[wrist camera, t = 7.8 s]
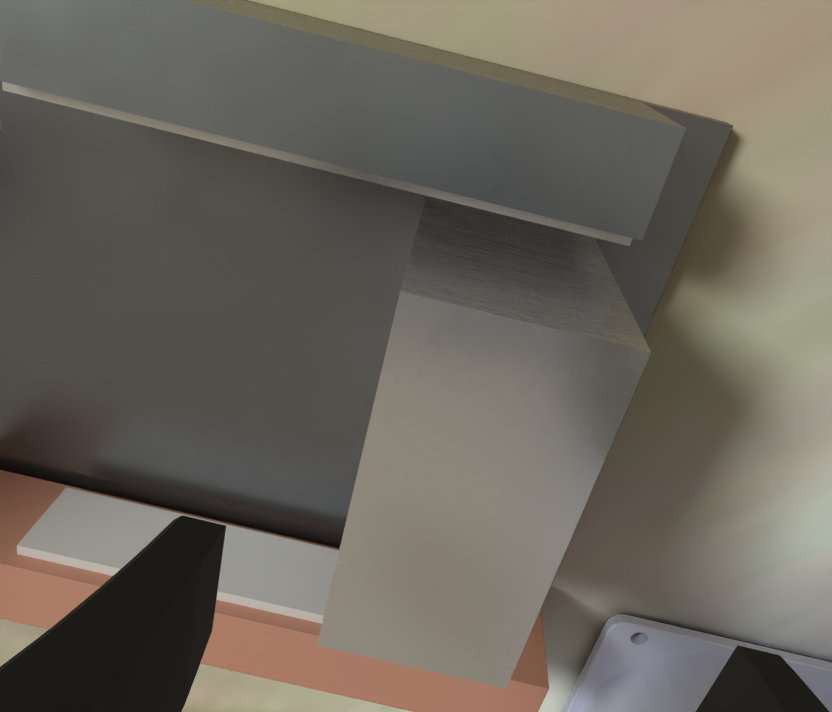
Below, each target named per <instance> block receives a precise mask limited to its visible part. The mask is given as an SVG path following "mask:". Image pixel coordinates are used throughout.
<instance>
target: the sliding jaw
mask: <svg viewBox="0 0 832 712" xmlns="http://www.w3.org/2000/svg"><path fill="white" fill-rule="evenodd" d="M182 515H183V516H187V517H192V518H196V519H200V520H204V521H209V522H213V523H217V524H222V525H226V531H225V539H224V546H223V554H222V561H221V569H220V576H219V583H218V591H217V598H216V606H215V613H214V621H213V628H212V633H211V635H210V638H209V641H208V643H207V646H206V649H205V651H204V654H203V657H202V660H201V662H200V664H205V665H209V666H214V667H218V668H223V669H227V670H231V671H236V672H240V673H245V674H249V675H254V676H258V677H262V678H267V679H271V680H276V681H280V682H285V683H289V684H293V685H298V686H302V687H307V688H311V689H316V690H320V691H324V692H329V693H333V694H338V695H342V696H347V697H351V698H355V699H360V700H364V701H369V702H373V703H378V704H382V705H386V706H391V707H395V708H400V709H404V710H409V711H413V712H538V711H539V708H540V706H541V704H542V702H543V700H544V698H545V696H546V694H547V692H548V689H549V684H548V675H547V665H546V655H545V646H544V636H543V626H542V616H541V609H540V612H539V614H538V616H537V619H536V621H535V623H534V625H533V628H532V630H531V632H530V635H529V637H528V639H527V642H526V644H525V646H524V649H523V651H522V653H521V656H520V658H519V660H518V663H517V665H516V667H515V669H514V672H513V674H512V676H511V679H510V681H509V683H508V686H507V688H506V689H505V688H501V687H496V686H492V685H487V684H483V683H479V682H474V681H470V680H465V679H461V678H457V677H452V676H448V675H444V674H439V673H435V672H430V671H426V670H422V669H417V668H413V667H408V666H404V665H400V664H395V663H391V662H386V661H382V660H378V659H373V658H369V657H365V656H360V655H356V654H351V653H347V652H343V651H338V650H334V649H329V648H325V647H321V646H317V643H318V638H319V634H320V630H321V626H322V621H323V617H324V613H325V609H326V604H327V600H328V596H329V592H330V587H331V583H332V579H333V575H334V570H335V566H336V562H337V558H338V553H339V548H335V547H331V546H326V545H322V544H318V543H313V542H309V541H305V540H300V539H296V538H292V537H288V536H283V535H279V534H275V533H270V532H266V531H262V530H257V529H253V528H249V527H244V526H240V525H236V524H232V523H227V522H223V521H219V520H214V519H210V518H206V517H201V516H197V515H193V514H188V513H184V512H180V511H176V510H171V509H167V508H163V507H158V506H154V505H150V504H145V503H141V502H137V501H132V500H128V499H124V498H120V497H115V496H111V495H107V494H102V493H98V492H94V491H89V490H85V489H81V488H76V487H72V486H68V485H64V484H59V483H55V482H51V481H46V480H42V479H38V478H33V477H29V476H25V475H20V474H16V473H12V472H8V471H3V470H0V618H1V619H5V620H10V621H14V622H19V623H23V624H28V625H32V626H36V627H41V628H45V629H50V628H52V627H53V626H54V625H55V624H57V623H58V622H59V621H60V620H61V619H63V618H64V617H65V616H66V615H67V614H69V613H70V612H71V611H72V610H73V609H75V608H76V607H77V606H78V605H79V604H81V603H82V602H83V601H84V600H85V599H87V598H88V597H89V596H90V595H91V594H93V593H94V592H95V591H96V590H97V589H99V588H100V587H101V586H102V585H103V584H104V583H106V582H107V581H108V580H109V579H110V578H111V577H112V576H113V575H115V574H116V573H117V572H118V571H119V570H120V569H121V568H123V567H124V566H125V565H126V564H127V563H128V562H129V561H130V560H131V559H133V558H134V557H135V556H136V555H137V554H138V553H139V552H140V551H141V550H142V549H144V548H145V547H146V546H147V545H148V544H149V543H150V542H151V541H152V540H153V539H154V538H155V537H156V536H157V535H158V534H159V533H160V532H162V531H163V530H164V529H165V528H166V527H167V526H168V525H169V524H170V523H171V522H172V521H173V520H174V519H176V518H178V517H180V516H182Z"/></svg>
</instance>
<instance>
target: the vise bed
mask: <svg viewBox="0 0 832 712" xmlns="http://www.w3.org/2000/svg"><path fill="white" fill-rule="evenodd" d="M732 127H733V125H730V124H728V123H726V122H723V121H719V120H715V119H711V118H707V117H703V116H699V115H695V114H691V113H687V112H683V111H680V110H676V109H672V108H668V107H664V106H660V105H656V104H652V103H648V102H644V101H640V100H636V99H632V98H629V97H625V96H621V95H617V94H613V93H609V92H605V91H601V90H597V89H593V88H589V87H585V86H582V85H578V84H574V83H570V82H566V81H562V80H558V79H554V78H550V77H546V76H542V75H538V74H535V73H531V72H527V71H523V70H519V69H515V68H511V67H507V66H503V65H499V64H495V63H491V62H488V61H484V60H480V59H476V58H472V57H468V56H464V55H460V54H456V53H452V52H448V51H444V50H441V49H437V48H433V47H429V46H425V45H421V44H417V43H413V42H409V41H405V40H401V39H397V38H394V37H390V36H386V35H382V34H378V33H374V32H370V31H366V30H362V29H358V28H354V27H350V26H347V25H343V24H339V23H335V22H331V21H327V20H323V19H319V18H315V17H311V16H307V15H303V14H300V13H296V12H292V11H288V10H284V9H280V8H276V7H272V6H268V5H264V4H260V3H256V2H253V1H249V0H0V470H3V471H8V472H12V473H16V474H20V475H25V476H29V477H33V478H38V479H42V480H46V481H51V482H55V483H59V484H64V485H68V486H72V487H76V488H81V489H85V490H89V491H94V492H98V493H102V494H107V495H111V496H115V497H120V498H124V499H128V500H132V501H137V502H141V503H145V504H150V505H154V506H158V507H163V508H167V509H171V510H176V511H180V512H184V513H188V514H193V515H197V516H201V517H206V518H210V519H214V520H219V521H223V522H227V523H232V524H236V525H240V526H244V527H249V528H253V529H257V530H262V531H266V532H270V533H275V534H279V535H283V536H288V537H292V538H296V539H300V540H305V541H309V542H313V543H318V544H322V545H326V546H331V547H335V548H339V549H340V545H341V541H342V536H343V532H344V528H345V524H346V519H347V515H348V511H349V506H350V502H351V498H352V494H353V489H354V485H355V481H356V477H357V472H358V468H359V464H360V460H361V455H362V451H363V447H364V443H365V438H366V434H367V430H368V426H369V421H370V417H371V413H372V409H373V404H374V400H375V396H376V392H377V387H378V383H379V379H380V375H381V370H382V366H383V362H384V357H385V353H386V349H387V345H388V340H389V336H390V332H391V328H392V323H393V319H394V315H395V311H396V306H397V302H398V298H399V294H400V290H401V286H402V282H403V279H404V275H405V271H406V268H407V264H408V261H409V257H410V253H411V250H412V246H413V242H414V239H415V235H416V232H417V228H418V224H419V221H420V217H421V213H422V210H423V206H424V203H425V199H426V196H427V197H431V198H435V199H439V200H443V201H447V202H451V203H455V204H459V205H463V206H467V207H471V208H475V209H479V210H483V211H487V212H491V213H495V214H499V215H503V216H507V217H511V218H515V219H519V220H523V221H527V222H532V223H536V224H540V225H544V226H548V227H552V228H556V229H560V230H564V231H568V232H572V233H576V234H580V235H584V236H588V237H592V238H595V240H596V242H597V244H598V246H599V248H600V250H601V252H602V254H603V256H604V258H605V260H606V262H607V264H608V266H609V268H610V270H611V272H612V274H613V276H614V278H615V280H616V282H617V284H618V287H619V289H620V291H621V293H622V295H623V297H624V299H625V301H626V303H627V305H628V307H629V309H630V311H631V313H632V315H633V317H634V319H635V321H636V323H637V325H638V327H639V329H640V331H641V333H642V335H643V337H644V336H645V334H646V331H647V329H648V326H649V324H650V322H651V319H652V317H653V315H654V312H655V310H656V307H657V305H658V303H659V300H660V298H661V296H662V293H663V291H664V288H665V286H666V284H667V281H668V279H669V277H670V274H671V272H672V269H673V267H674V265H675V262H676V260H677V258H678V255H679V253H680V250H681V248H682V246H683V243H684V241H685V239H686V236H687V234H688V231H689V229H690V227H691V224H692V222H693V220H694V217H695V215H696V212H697V210H698V208H699V205H700V203H701V201H702V198H703V196H704V193H705V191H706V189H707V186H708V184H709V182H710V179H711V177H712V175H713V172H714V170H715V167H716V165H717V163H718V160H719V158H720V156H721V153H722V151H723V148H724V146H725V144H726V141H727V139H728V137H729V134H730V132H731V129H732Z"/></svg>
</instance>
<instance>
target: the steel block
mask: <svg viewBox="0 0 832 712" xmlns="http://www.w3.org/2000/svg"><path fill="white" fill-rule="evenodd" d="M650 355H651V351H650V349H649V347H648V345H647V343H646V341H645V339H644V337H643V335H642V333H641V331H640V329H639V327H638V325H637V323H636V321H635V319H634V317H633V315H632V313H631V311H630V309H629V307H628V305H627V303H626V301H625V299H624V297H623V295H622V293H621V291H620V289H619V287H618V284H617V282H616V280H615V278H614V276H613V274H612V272H611V270H610V268H609V266H608V264H607V262H606V260H605V258H604V256H603V254H602V252H601V250H600V248H599V246H598V244H597V242H596V240H595V238H592V237H588V236H584V235H580V234H576V233H572V232H568V231H564V230H560V229H556V228H552V227H548V226H544V225H540V224H536V223H532V222H527V221H523V220H519V219H515V218H511V217H507V216H503V215H499V214H495V213H491V212H487V211H483V210H479V209H475V208H471V207H467V206H463V205H459V204H455V203H451V202H447V201H443V200H439V199H435V198H431V197H427V196H426V199H425V203H424V206H423V210H422V213H421V217H420V221H419V224H418V228H417V232H416V235H415V239H414V242H413V246H412V250H411V253H410V257H409V261H408V264H407V268H406V271H405V275H404V279H403V282H402V286H401V290H400V294H399V298H398V302H397V306H396V311H395V315H394V319H393V323H392V328H391V332H390V336H389V340H388V345H387V349H386V353H385V357H384V362H383V366H382V370H381V375H380V379H379V383H378V387H377V392H376V396H375V400H374V404H373V409H372V413H371V417H370V421H369V426H368V430H367V434H366V438H365V443H364V447H363V451H362V455H361V460H360V464H359V468H358V472H357V477H356V481H355V485H354V489H353V494H352V498H351V502H350V506H349V511H348V515H347V519H346V524H345V528H344V532H343V536H342V541H341V545H340V549H339V553H338V558H337V562H336V566H335V570H334V575H333V579H332V583H331V587H330V592H329V596H328V600H327V604H326V609H325V613H324V617H323V621H322V626H321V630H320V634H319V638H318V643H317V646H321V647H325V648H329V649H334V650H338V651H343V652H347V653H351V654H356V655H360V656H365V657H369V658H373V659H378V660H382V661H386V662H391V663H395V664H400V665H404V666H408V667H413V668H417V669H422V670H426V671H430V672H435V673H439V674H444V675H448V676H452V677H457V678H461V679H465V680H470V681H474V682H479V683H483V684H487V685H492V686H496V687H501V688H505V689H506V688H507V686H508V683H509V681H510V679H511V676H512V674H513V672H514V669H515V667H516V665H517V663H518V660H519V658H520V656H521V653H522V651H523V649H524V646H525V644H526V642H527V639H528V637H529V635H530V632H531V630H532V628H533V625H534V623H535V621H536V619H537V616H538V614H539V612H540V609H541V607H542V605H543V602H544V600H545V598H546V595H547V593H548V591H549V588H550V586H551V584H552V582H553V579H554V577H555V575H556V572H557V570H558V568H559V565H560V563H561V561H562V558H563V556H564V554H565V551H566V549H567V547H568V545H569V542H570V540H571V538H572V535H573V533H574V531H575V528H576V526H577V524H578V521H579V519H580V517H581V514H582V512H583V510H584V507H585V505H586V503H587V501H588V498H589V496H590V494H591V491H592V489H593V487H594V484H595V482H596V480H597V477H598V475H599V473H600V470H601V468H602V466H603V464H604V461H605V459H606V457H607V454H608V452H609V450H610V447H611V445H612V443H613V440H614V438H615V436H616V433H617V431H618V429H619V426H620V424H621V422H622V420H623V417H624V415H625V413H626V410H627V408H628V406H629V403H630V401H631V399H632V396H633V394H634V392H635V389H636V387H637V385H638V383H639V380H640V378H641V376H642V373H643V371H644V369H645V366H646V364H647V362H648V359H649V357H650Z"/></svg>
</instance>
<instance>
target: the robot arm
mask: <svg viewBox="0 0 832 712" xmlns="http://www.w3.org/2000/svg"><path fill="white" fill-rule="evenodd" d="M225 531H226V525H222V524H217V523H213V522H209V521H204V520H200V519H196V518H192V517H187V516H183V515H182V516H180V517H178V518H176V519H174V520H173V521H172V522H171V523H170V524H169V525H168V526H167V527H166V528H165V529H164V530H163V531H162V532H160V533H159V534H158V535H157V536H156V537H155V538H154V539H153V540H152V541H151V542H150V543H149V544H148V545H147V546H146V547H145V548H144V549H142V550H141V551H140V552H139V553H138V554H137V555H136V556H135V557H134V558H133V559H131V560H130V561H129V562H128V563H127V564H126V565H125V566H124V567H123V568H121V569H120V570H119V571H118V572H117V573H116V574H115V575H113V576H112V577H111V578H110V579H109V580H108V581H107V582H106V583H104V584H103V585H102V586H101V587H100V588H99V589H97V590H96V591H95V592H94V593H93V594H91V595H90V596H89V597H88V598H87V599H85V600H84V601H83V602H82V603H81V604H79V605H78V606H77V607H76V608H75V609H73V610H72V611H71V612H70V613H69V614H67V615H66V616H65V617H64V618H63V619H61V620H60V621H59V622H58V623H57V624H55V625H54V626H53V627H52V628H50V629H49V630H48V631H47V632H45V633H44V634H43V635H42V636H40V637H39V638H38V639H36V640H35V641H34V642H32V643H31V644H30V645H29V646H27V647H26V648H25V649H23V650H22V651H21V652H19V653H18V654H17V655H15V656H14V657H13V658H11V659H10V660H9V661H7V662H6V663H5V664H3V665H2V666H1V667H0V712H181V711H182V709H183V707H184V705H185V702H186V699H187V697H188V694H189V691H190V689H191V686H192V684H193V681H194V678H195V676H196V673H197V670H198V668H199V665H200V662H201V660H202V657H203V654H204V651H205V649H206V646H207V643H208V641H209V638H210V635H211V633H212V628H213V621H214V613H215V606H216V598H217V591H218V583H219V576H220V569H221V561H222V554H223V546H224V539H225ZM635 633H641V634H638V635H636V634H635ZM562 712H832V662H828V661H823V660H819V659H815V658H810V657H806V656H802V655H798V654H793V653H789V652H785V651H780V650H776V649H772V648H767V647H763V646H759V645H754V644H750V643H746V642H742V641H737V640H733V639H729V638H724V637H720V636H716V635H711V634H707V633H703V632H698V631H694V630H690V629H686V628H681V627H677V626H673V625H668V624H664V623H660V622H655V621H651V620H647V619H642V618H638V617H634V616H630V615H622V614H620V615H615V616H613V617H611V618H609V619H608V621H607V622H606V623H605V625H604V627H603V629H602V631H601V633H600V635H599V637H598V639H597V641H596V643H595V645H594V647H593V649H592V651H591V653H590V655H589V657H588V660H587V662H586V664H585V666H584V668H583V670H582V672H581V674H580V676H579V678H578V680H577V682H576V684H575V686H574V688H573V690H572V692H571V694H570V696H569V698H568V700H567V702H566V704H565V706H564V708H563V710H562Z"/></svg>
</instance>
